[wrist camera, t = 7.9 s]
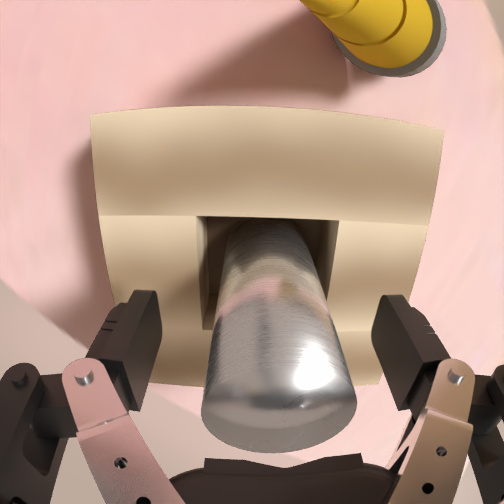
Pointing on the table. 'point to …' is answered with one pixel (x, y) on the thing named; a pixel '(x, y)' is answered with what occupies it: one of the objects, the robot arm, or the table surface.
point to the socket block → (260, 212)
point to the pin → (274, 346)
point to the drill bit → (385, 33)
